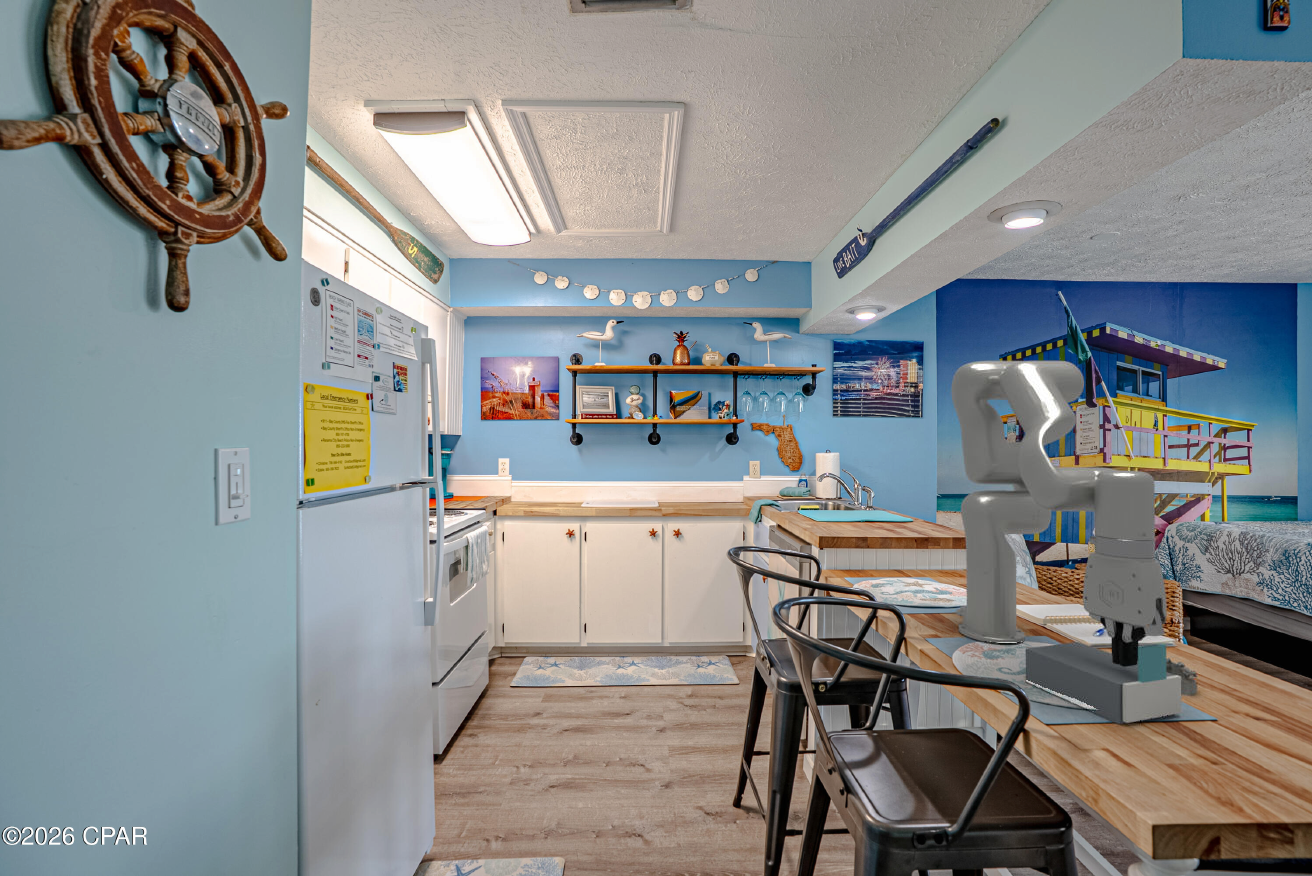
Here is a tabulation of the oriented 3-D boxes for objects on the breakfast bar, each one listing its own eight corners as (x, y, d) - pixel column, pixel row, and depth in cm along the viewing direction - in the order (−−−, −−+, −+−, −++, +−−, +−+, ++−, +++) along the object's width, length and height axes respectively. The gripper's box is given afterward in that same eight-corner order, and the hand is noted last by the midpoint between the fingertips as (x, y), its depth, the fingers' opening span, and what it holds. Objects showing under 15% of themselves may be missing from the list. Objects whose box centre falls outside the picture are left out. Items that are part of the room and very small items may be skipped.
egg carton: (1199, 700, 98) (1199, 675, 98) (1141, 689, 102) (1141, 665, 102) (1188, 678, 107) (1188, 655, 107) (1135, 669, 111) (1135, 647, 111)
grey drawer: (1029, 679, 104) (1028, 618, 104) (1078, 672, 107) (1078, 612, 107) (1127, 722, 88) (1126, 650, 88) (1181, 712, 91) (1181, 642, 91)
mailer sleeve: (1025, 682, 104) (1025, 648, 104) (1077, 674, 108) (1077, 641, 108) (1119, 724, 89) (1119, 684, 89) (1176, 713, 92) (1176, 675, 92)
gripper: (1061, 542, 100) (1062, 650, 100) (1158, 558, 86) (1159, 685, 86) (1095, 539, 102) (1096, 646, 102) (1195, 555, 88) (1196, 679, 88)
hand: (1124, 663), depth 94 cm, fingers closed
